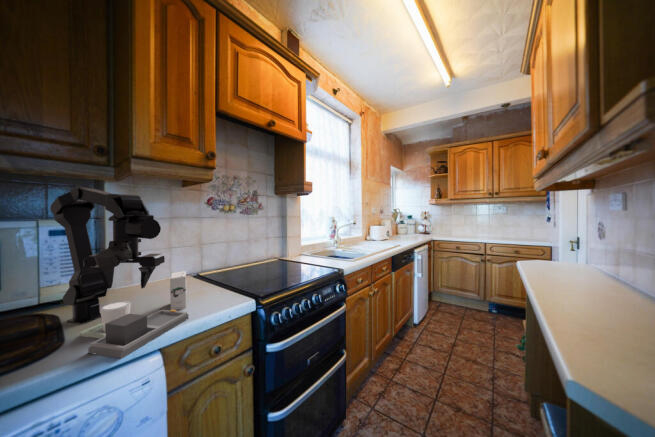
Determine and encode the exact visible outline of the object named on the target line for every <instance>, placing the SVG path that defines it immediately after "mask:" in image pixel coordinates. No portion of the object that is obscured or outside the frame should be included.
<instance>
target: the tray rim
mask: <svg viewBox="0 0 655 437" xmlns="http://www.w3.org/2000/svg"><path fill="white" fill-rule="evenodd" d="M102 328H103V323H99V324H96V325H94V326H91V327H89V328H86V329H85V330H82V331H80V332H79V336H80V337H86V338H95V339H100V338H103V337H105V336H106V333H105V332H100V331H99V332H97V331H98V330H100V329H102Z"/></svg>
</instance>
